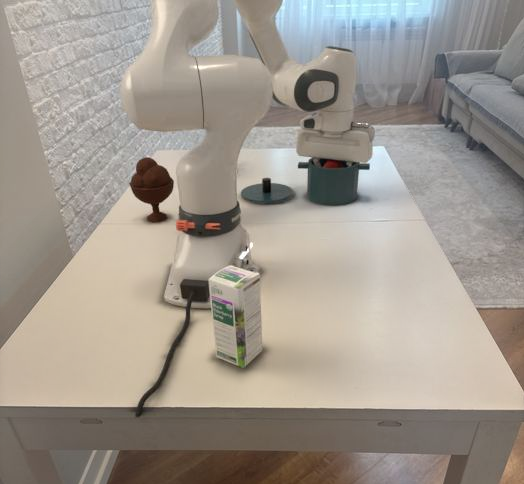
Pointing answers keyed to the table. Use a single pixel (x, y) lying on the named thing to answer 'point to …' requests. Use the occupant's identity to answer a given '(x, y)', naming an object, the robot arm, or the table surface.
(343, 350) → the table surface
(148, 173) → the ice cream bowl
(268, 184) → the lid
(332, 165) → the onion
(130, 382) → the table surface
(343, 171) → the pot
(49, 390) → the table surface
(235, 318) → the syrup box
